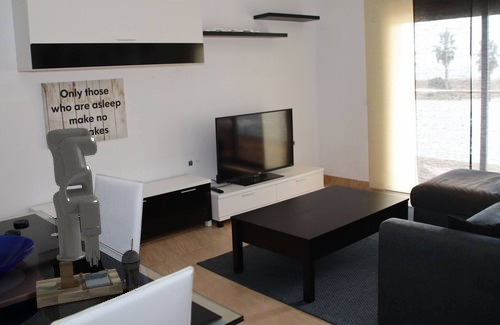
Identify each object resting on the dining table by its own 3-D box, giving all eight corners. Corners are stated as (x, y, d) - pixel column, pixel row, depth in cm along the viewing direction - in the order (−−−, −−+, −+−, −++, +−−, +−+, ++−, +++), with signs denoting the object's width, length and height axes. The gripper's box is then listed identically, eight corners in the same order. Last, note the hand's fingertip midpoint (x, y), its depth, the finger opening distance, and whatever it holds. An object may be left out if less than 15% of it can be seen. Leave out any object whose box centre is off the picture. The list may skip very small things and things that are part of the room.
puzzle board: (37, 289, 201) (36, 279, 200) (115, 276, 212) (115, 267, 211) (37, 308, 184) (36, 297, 184) (123, 293, 196) (122, 282, 195)
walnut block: (61, 287, 198) (59, 262, 196) (73, 285, 199) (71, 260, 198) (62, 291, 194) (59, 266, 192) (74, 289, 195) (72, 264, 194)
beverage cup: (119, 289, 199) (115, 239, 196) (135, 284, 204) (132, 235, 201) (129, 294, 194) (126, 243, 191) (146, 289, 199) (143, 238, 196)
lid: (84, 280, 199) (84, 274, 199) (107, 276, 202) (106, 270, 202) (86, 288, 191) (86, 282, 191) (110, 284, 194) (110, 278, 194)
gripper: (79, 226, 207) (83, 270, 210) (83, 237, 194) (86, 283, 197) (99, 224, 210) (102, 267, 213) (103, 234, 196) (107, 280, 199)
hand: (94, 275), depth 205 cm, fingers closed
